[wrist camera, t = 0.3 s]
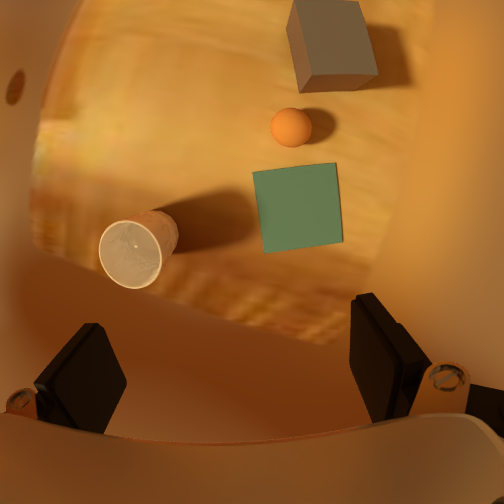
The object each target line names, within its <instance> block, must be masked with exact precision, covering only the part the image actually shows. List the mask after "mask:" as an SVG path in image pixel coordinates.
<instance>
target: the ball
mask: <svg viewBox="0 0 504 504" xmlns="http://www.w3.org/2000/svg"><path fill="white" fill-rule="evenodd" d="M311 132H312V124H311V121H310V119H309V117H308V116H307V115H306V114H305V113H304V112H303V111H301V110H299V109H296V108H286V109H283V110H281V111H279V112H278V113H277V114H276V115H275V116H274V117H273V119H272V122H271V133H272V135H273V137H274V139H275V140H276V141H277V142H278V143H279V144H281V145H283V146H286V147H298V146H301V145H303V144H304V143H305V142H306V141H307V140H308V139H309V138H310V136H311Z"/></svg>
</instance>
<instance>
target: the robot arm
mask: <svg viewBox="0 0 504 504" xmlns="http://www.w3.org/2000/svg"><path fill="white" fill-rule="evenodd" d="M349 363H350V368H351V371H352V373H353V376H354V378H355V381H356V383H357V385H358V388H359V390H360V393H361V395H362V398H363V400H364V403H365V405H366V408H367V410H368V413H369V415H370V418H371V420H372V424H368V425H362V426H357V427H353V428H348V429H343V430H338V431H332V432H326V433H320V434H314V435H306V436H299V437H292V438H283V439H274V440H262V441H248V442H222V443H193V442H169V441H154V440H143V439H134V438H125V437H118V436H111V435H105V434H104V431H105V429H106V427H107V425H108V423H109V421H110V419H111V417H112V415H113V413H114V411H115V408H116V406H117V404H118V402H119V400H120V398H121V396H122V394H123V392H124V390H125V388H126V385H127V382H126V378H125V376H124V373H123V371H122V370H121V367H120V365H119V363H118V360H117V358H116V356H115V354H114V352H113V349H112V347H111V344H110V342H109V339H108V337H107V334H106V332H105V330H104V328H103V327H102V326H100V325H99V324H98V323H85V324H84V325H83V326H82V327H81V328H80V329H79V331H77V333H76V334H75V335H74V336H73V337H72V338H71V339H70V340H69V342H68V343H67V344H66V345H65V346H64V347H63V348H62V350H61V351H60V352H59V353H58V354H57V355H56V356H55V358H54V359H53V360H52V361H51V362H50V363H49V365H48V366H47V367H46V368H45V369H44V371H43V372H42V373H41V374H40V375H39V377H38V378H37V379H36V380H35V382H34V385H35V387H36V388H37V390H38V393H37V394H36V393H35V392H34V390H33V389H31V388H22V389H19V390H17V391H15V392H14V393H12V394H11V395H10V396H9V398H8V399H7V402H6V412H4V413H0V504H504V391H503V390H498V389H493V388H488V387H484V386H479V385H474V384H470V374H469V372H468V370H467V369H466V368H465V367H464V366H462V365H460V364H458V363H455V362H452V361H441V362H437V363H434V364H432V363H431V362H430V360H429V359H428V357H427V356H426V355H425V353H424V352H423V351H422V350H421V348H420V347H419V346H418V344H417V343H416V342H415V341H414V339H413V338H412V337H411V336H410V334H409V333H408V332H407V331H406V329H405V328H404V327H403V326H402V325H401V324H400V323H397V322H396V321H395V320H394V318H393V317H392V316H391V315H390V314H389V312H388V311H387V310H386V308H385V307H384V306H383V305H382V304H381V302H380V301H379V300H378V299H377V298H376V296H375V295H374V294H373V293H366V294H361V295H357V296H356V299H355V300H352V301H351V330H350V355H349Z"/></svg>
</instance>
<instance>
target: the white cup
mask: <svg viewBox="0 0 504 504" xmlns="http://www.w3.org/2000/svg"><path fill="white" fill-rule="evenodd" d="M178 238H179V233H178V228H177V224H176V223H175V222H174V220H173V219H172V218H171V216H169V215H168V214H166V213H164V212H162V211H154V210H150V211H148V212H144V213H140V214H137V215H134V216H131V217H128V218H126V219H123V220H121V221H118V222H115V223H113V224H112V225H110V226H109V227H108V228H107V229H106V230H105V232H104V233H103V235H102V237H101V240H100V244H99V256H100V260H101V263H102V266H103V268H104V270H105V271H106V273H107V274H108V275H109V277H110V278H111V279H112V280H114V281H115V282H116V283H118V284H120V285H122V286H124V287H127V288H133V289H137V288H143V287H146V286H148V285H149V284H151V283H152V282H153V281H154V280H155V279H156V278H157V277H158V275H159V273H160V272H161V270H162V269H163V267H164V266H165V264H166V263H167V261H168V260H169V258H170V256H171V255H172V253H173V250H174V249H175V247H176V246H177V242H178Z"/></svg>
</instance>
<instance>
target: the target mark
mask: <svg viewBox="0 0 504 504" xmlns="http://www.w3.org/2000/svg"><path fill="white" fill-rule="evenodd" d="M253 179H254V186H255V192H256V199H257V206H258V212H259V219H260V226H261V233H262V239H263V246H264V253H271V252H278V251H285V250H292V249H299V248H306V247H313V246H320V245H327V244H334V243H341V242H342V228H341V215H340V204H339V193H338V183H337V174H336V166H335V163H327V164H317V165H308V166H299V167H290V168H282V169H274V170H267V171H260V172H253Z"/></svg>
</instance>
